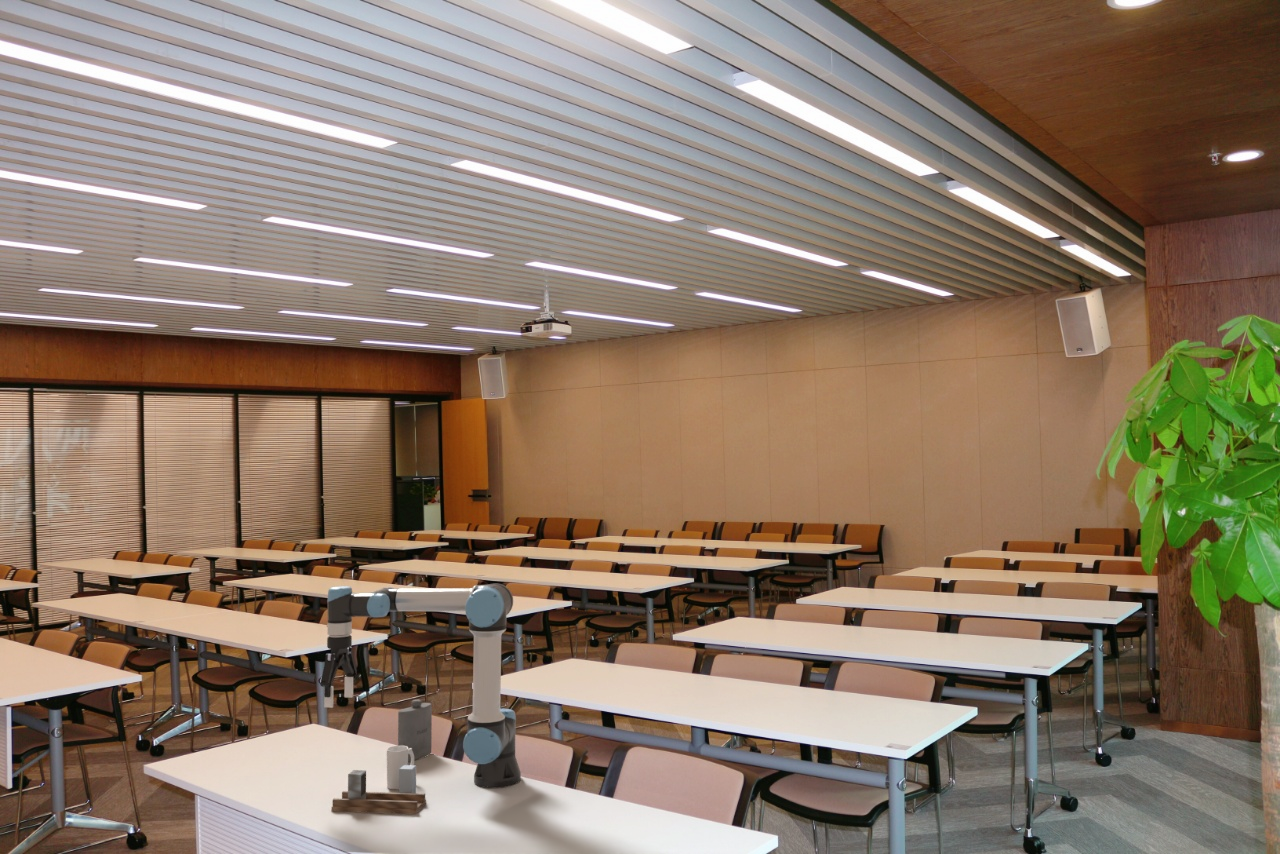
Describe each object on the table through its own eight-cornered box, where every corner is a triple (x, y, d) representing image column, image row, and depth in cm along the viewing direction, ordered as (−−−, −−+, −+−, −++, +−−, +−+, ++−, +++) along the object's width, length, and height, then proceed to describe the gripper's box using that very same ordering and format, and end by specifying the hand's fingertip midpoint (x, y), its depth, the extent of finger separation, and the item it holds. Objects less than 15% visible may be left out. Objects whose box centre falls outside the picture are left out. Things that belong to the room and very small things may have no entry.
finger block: (416, 794, 299) (416, 765, 300) (411, 798, 295) (411, 769, 296) (403, 794, 300) (403, 764, 300) (398, 798, 296) (399, 768, 296)
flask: (407, 764, 331) (408, 705, 332) (395, 761, 334) (395, 703, 335) (436, 752, 344) (436, 696, 345) (423, 750, 347) (423, 695, 348)
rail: (425, 803, 291) (426, 769, 291) (415, 814, 282) (415, 779, 282) (344, 800, 294) (344, 767, 294) (331, 811, 285) (331, 776, 285)
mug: (394, 791, 303) (395, 752, 303) (382, 786, 307) (382, 748, 307) (420, 782, 310) (420, 745, 311) (407, 778, 315) (407, 742, 315)
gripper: (346, 628, 320) (346, 692, 319) (309, 641, 295) (308, 711, 294) (367, 629, 319) (367, 693, 318) (331, 642, 294) (331, 711, 293)
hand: (339, 702), depth 306 cm, fingers open, 13 cm apart
